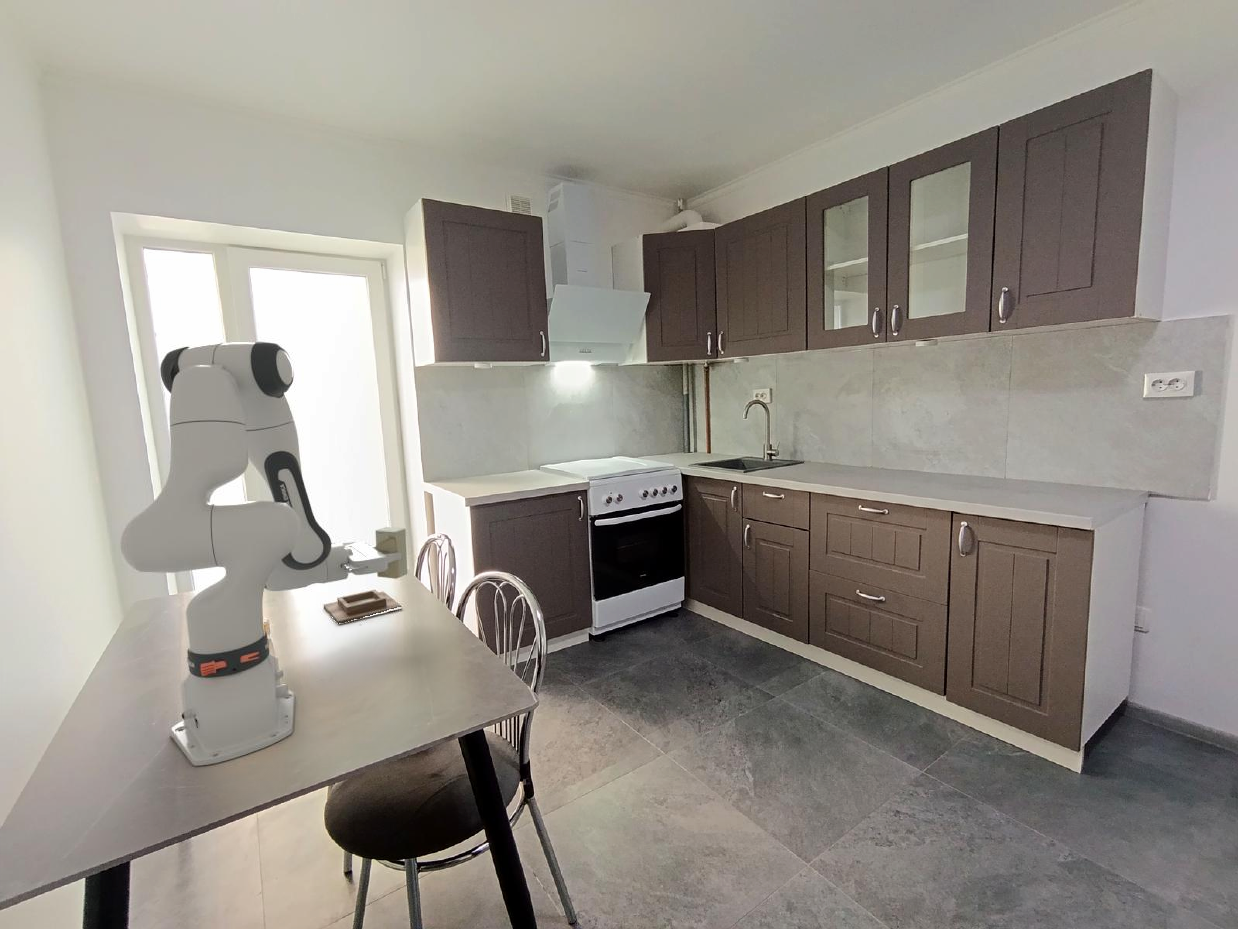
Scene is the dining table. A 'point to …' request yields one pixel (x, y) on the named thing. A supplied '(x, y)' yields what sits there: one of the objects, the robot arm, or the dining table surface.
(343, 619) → the brown box holder base
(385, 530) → the skincare box
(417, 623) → the dining table surface
